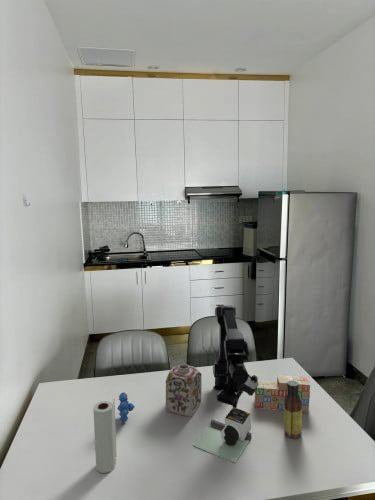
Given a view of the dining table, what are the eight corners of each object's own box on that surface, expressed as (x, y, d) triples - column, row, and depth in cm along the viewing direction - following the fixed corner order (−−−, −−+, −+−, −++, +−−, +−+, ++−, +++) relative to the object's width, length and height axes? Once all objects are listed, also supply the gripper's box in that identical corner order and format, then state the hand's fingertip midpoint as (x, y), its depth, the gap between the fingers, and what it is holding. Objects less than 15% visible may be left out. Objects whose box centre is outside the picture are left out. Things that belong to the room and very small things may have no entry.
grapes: (135, 430, 134) (134, 400, 133) (117, 432, 133) (116, 402, 132) (134, 412, 146) (134, 384, 144) (117, 413, 145) (116, 386, 143)
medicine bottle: (250, 412, 131) (235, 434, 122) (251, 429, 133) (236, 451, 124) (233, 406, 135) (217, 426, 126) (234, 422, 137) (218, 443, 128)
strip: (210, 425, 137) (210, 421, 137) (212, 423, 138) (212, 419, 138) (250, 439, 129) (250, 435, 129) (251, 437, 130) (251, 433, 130)
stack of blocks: (255, 408, 148) (255, 380, 146) (254, 400, 154) (255, 373, 153) (309, 413, 145) (310, 384, 143) (306, 404, 151) (307, 376, 149)
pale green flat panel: (193, 445, 126) (193, 445, 126) (208, 427, 136) (208, 426, 136) (235, 463, 118) (235, 462, 118) (248, 441, 128) (248, 441, 128)
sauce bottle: (302, 431, 134) (305, 381, 131) (300, 441, 128) (302, 389, 125) (284, 426, 137) (286, 377, 134) (281, 436, 131) (283, 385, 128)
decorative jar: (165, 411, 146) (164, 369, 144) (176, 396, 157) (176, 357, 154) (192, 418, 142) (192, 375, 139) (202, 402, 152) (202, 362, 150)
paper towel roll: (97, 476, 112) (95, 413, 109) (94, 463, 118) (91, 402, 115) (120, 469, 115) (118, 407, 112) (116, 456, 121) (114, 397, 118)
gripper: (246, 387, 121) (245, 429, 124) (264, 363, 137) (263, 401, 139) (216, 379, 126) (216, 419, 129) (236, 357, 142) (236, 393, 145)
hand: (234, 408), depth 136 cm, fingers closed
